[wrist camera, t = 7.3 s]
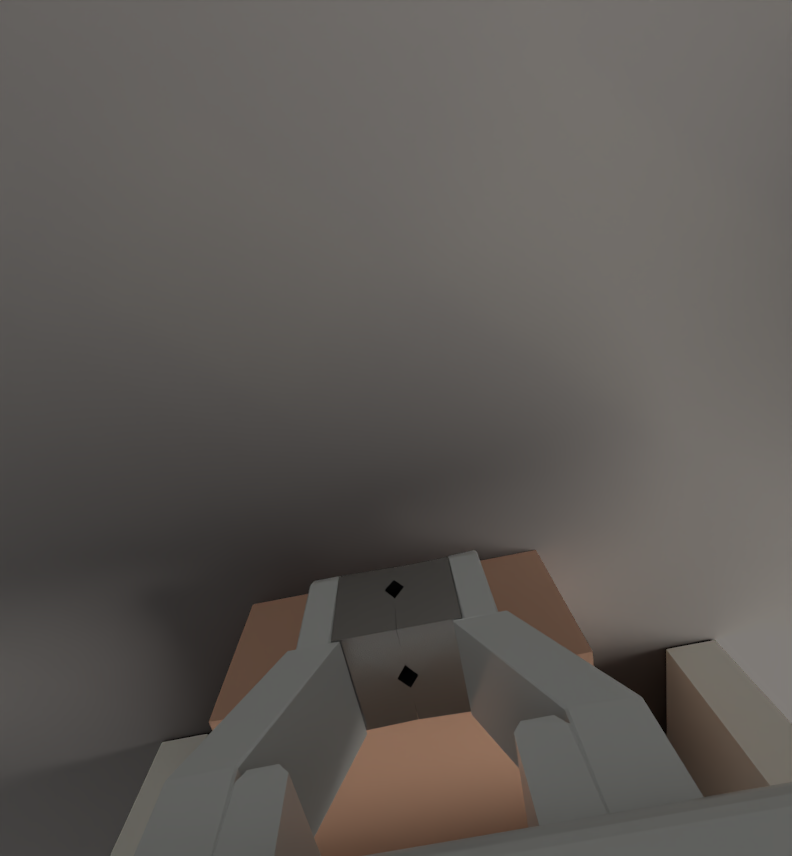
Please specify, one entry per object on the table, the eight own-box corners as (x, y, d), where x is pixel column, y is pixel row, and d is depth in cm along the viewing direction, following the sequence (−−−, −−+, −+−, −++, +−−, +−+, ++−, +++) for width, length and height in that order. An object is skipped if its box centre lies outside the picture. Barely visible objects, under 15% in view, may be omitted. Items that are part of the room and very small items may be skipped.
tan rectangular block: (254, 600, 11) (208, 721, 8) (534, 546, 10) (592, 651, 8) (345, 846, 14) (336, 999, 11) (564, 808, 13) (614, 954, 10)
